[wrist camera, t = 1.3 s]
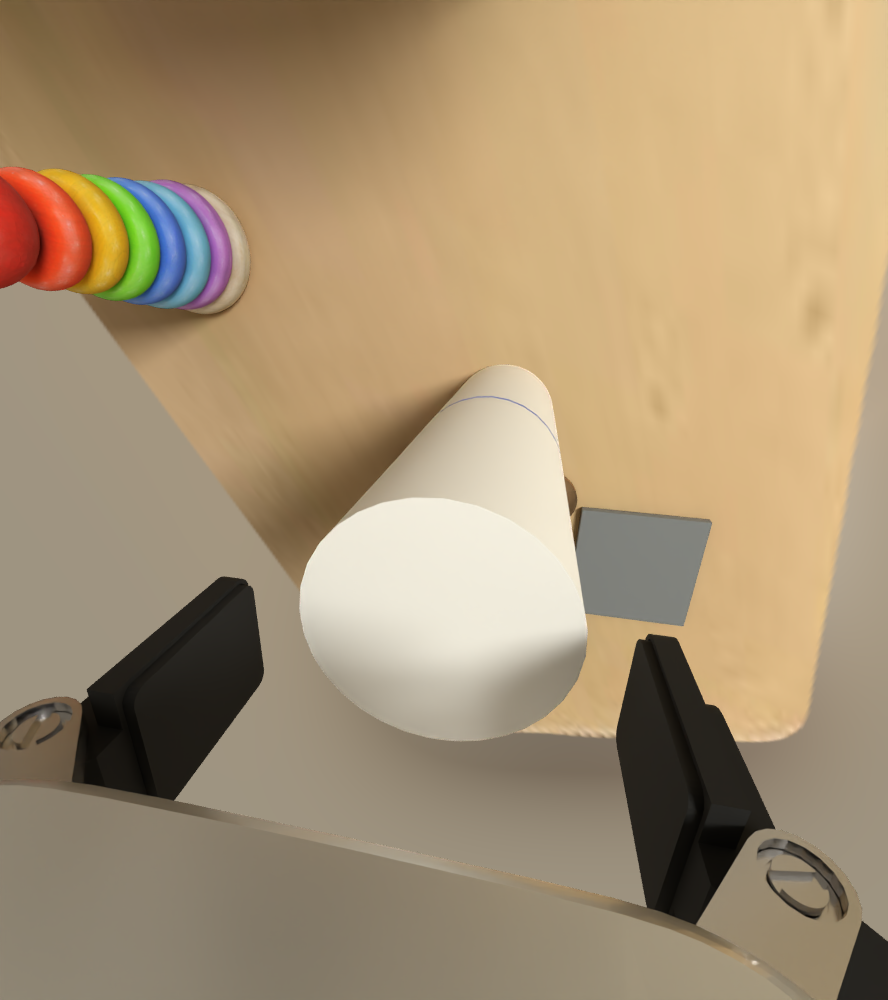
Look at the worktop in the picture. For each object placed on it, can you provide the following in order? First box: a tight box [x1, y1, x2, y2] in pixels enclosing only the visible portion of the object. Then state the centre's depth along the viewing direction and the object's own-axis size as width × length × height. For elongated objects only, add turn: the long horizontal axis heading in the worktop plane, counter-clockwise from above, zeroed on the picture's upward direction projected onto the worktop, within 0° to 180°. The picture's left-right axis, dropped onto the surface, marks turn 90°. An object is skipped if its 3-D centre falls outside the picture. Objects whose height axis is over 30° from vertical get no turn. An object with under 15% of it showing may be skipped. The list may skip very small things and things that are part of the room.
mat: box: [575, 507, 712, 626], centre depth 37 cm, size 9×9×1 cm
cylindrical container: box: [300, 364, 588, 741], centre depth 23 cm, size 7×7×25 cm
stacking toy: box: [0, 167, 251, 314], centre depth 25 cm, size 8×8×19 cm
